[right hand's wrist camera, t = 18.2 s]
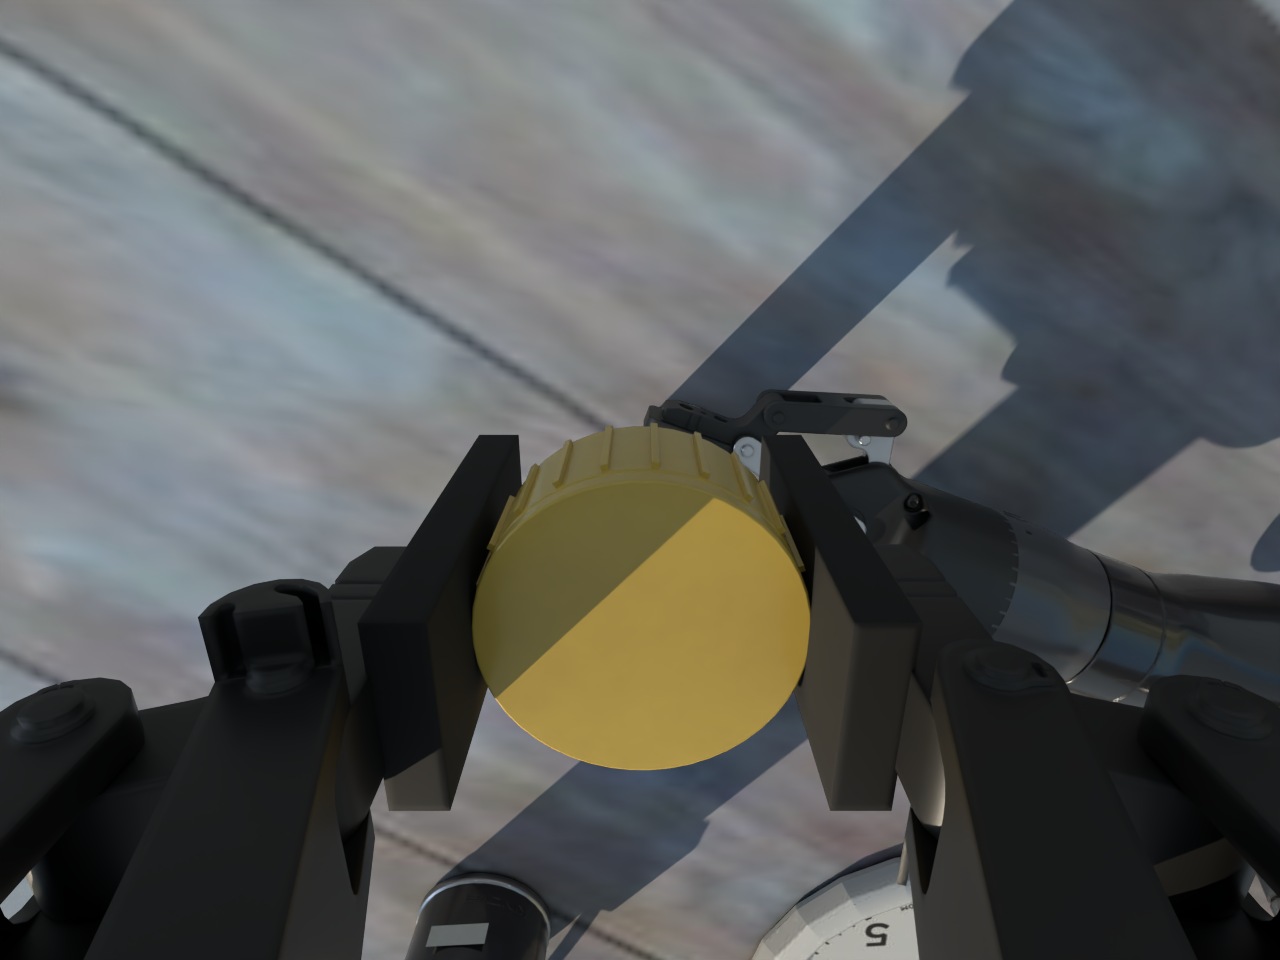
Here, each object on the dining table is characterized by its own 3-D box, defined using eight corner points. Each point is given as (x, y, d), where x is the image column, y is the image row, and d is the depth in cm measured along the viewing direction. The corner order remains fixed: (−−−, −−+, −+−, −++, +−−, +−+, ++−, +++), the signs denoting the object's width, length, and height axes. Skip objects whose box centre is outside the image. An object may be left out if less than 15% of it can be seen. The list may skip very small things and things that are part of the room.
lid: (497, 669, 13) (468, 765, 11) (498, 408, 11) (463, 461, 9) (764, 686, 13) (788, 785, 11) (807, 431, 11) (846, 488, 9)
